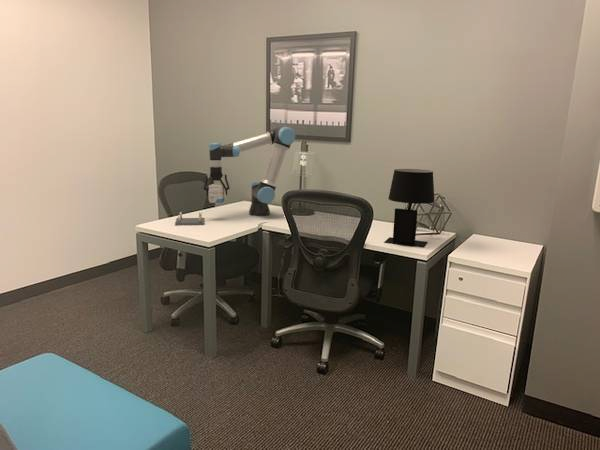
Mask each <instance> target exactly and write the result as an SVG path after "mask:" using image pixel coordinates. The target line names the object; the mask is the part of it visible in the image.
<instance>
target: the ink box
mask: <svg viewBox="0 0 600 450" xmlns="http://www.w3.org/2000/svg"><path fill="white" fill-rule="evenodd" d="M208 185H209V184H208ZM224 190H225V188H224V187H223V185H222V184H221V183H212V184H211V185H209V195H208V201H209V203H211V204H212V203H213V204H222V203H224V202H225V201H226V200H224Z"/></svg>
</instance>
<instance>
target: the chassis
mask: <svg viewBox="0 0 600 450" xmlns="http://www.w3.org/2000/svg"><path fill="white" fill-rule="evenodd" d="M178 214H179V216H177V217H176V220H175V222H174V225H175V226H204V225H205V217H202V215H203V213H202V212H201V211H200V212H198V217H183V212H182V211H181V212H179V213H178Z"/></svg>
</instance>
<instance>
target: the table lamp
mask: <svg viewBox="0 0 600 450" xmlns="http://www.w3.org/2000/svg"><path fill="white" fill-rule="evenodd" d="M388 201H392V202H397V203H401V204H407V205H408V206H407V209H406V208H398V207H397V208H394V217H393V230H392V231H393V232H392V236H391V237H390V236H389V237H388V238H387V239H386V240H385V241H384V242H383V243H384V244H389V245H390V244H391V245H392V244H393V245H399V246H406V247H416V248H425V247H426V245H427V244H428V243H429V241H425V240H416V235H417V222H418V210H417V209H412V205H413V204H415V205H416V204H417V205H418V204H420V205H421V204H432V203H433V204H434V203H435V186H434V171H433V170H430V169H428V170H427V169H420V168H419V169H418V168H417V169H416V168H395V169H394V170H393V175H392V180H391V185H390V189H389V195H388Z"/></svg>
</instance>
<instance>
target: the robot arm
mask: <svg viewBox="0 0 600 450" xmlns="http://www.w3.org/2000/svg"><path fill="white" fill-rule="evenodd" d="M295 140H296V133H295V131H294V129H292V128H291V127H289V126H278V127H275V128H274V129H270V130H267V131H266V132H265V133H263V134H258V135H255V136H252V137H249V138H245V139H242V140H238V141H235V142H231V143H228V144H226V143H225V144H223V145H222V143H221V142H210V143H209V145H208V146H209V148H208V149H209V166H210V167H209V172H210V173H209V174H206V175H205V182H204V186H203V190H205V191H206V196H209V185H211V184H213V182H216V181H218V182H219V183H220V184H222V185H223V187H224V200H225V201H226V200H227V198H226V196H227V195H228V190H230V188H231V187H230V185H229V182H228V178H227V176H228V175H227V174H225V173H224V174H223V171H222V170H223V167H222V165H223V163H222V158H239V156H240V153H242V152H245V151H248V150H252V149H256V148H259V147H262V146H266V145H273V146H274V147H273V149H272V152H271V153H272V154H271V156H270V159H269V162H268V163H267V164H268V165H267V167H266V171H265V173H264V177H263V179H261V180H260V181H259V182H252V183H251V186H250V187H251V203H250V207H249V209H248V214H249V215H251V216H260V217H261V216H268V215H271V211H270V210H271V209H270V208H269V203H272V202H273V201H274V200H275V198H276V192H275V191H276V189H277V185H276V182H277V179H278V175H279V173H280V170H281V168H282V165H283V161H284V159H285V155H286V153H287V151H288V150H290V149H291V146H292V144H293V143H294V142H295ZM209 178H211V180H210V182H209V183H208V180H209ZM222 178H223V179H224V181H225V183H226V184H225V183H224V182H223V180H222ZM207 183H208V185H207Z"/></svg>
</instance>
